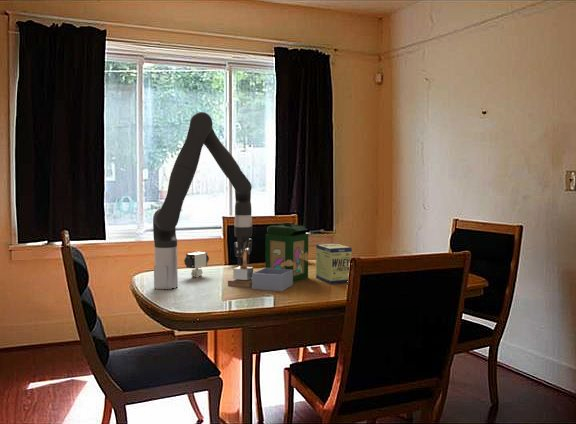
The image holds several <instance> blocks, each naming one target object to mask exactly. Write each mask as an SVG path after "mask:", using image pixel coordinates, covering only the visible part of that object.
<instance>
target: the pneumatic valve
mask: <svg viewBox="0 0 576 424" xmlns="http://www.w3.org/2000/svg"><path fill="white" fill-rule="evenodd" d="M209 259H210V256H209V255H208V252H206V251H198V250H195V252H191V253H186V254H185V258H184V262H183V263H184V265H185V266H186V268H187V269H191V273H190V274H191V275H190V276H191V277H192V276H195V277H194V278H196V277H197V278H200V277H199V276H202V277H203V269H202V268H204V267H208V263H209Z"/></svg>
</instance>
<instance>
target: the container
mask: <svg viewBox="0 0 576 424" xmlns="http://www.w3.org/2000/svg"><path fill="white" fill-rule="evenodd" d="M266 231H267V233H266V234H265V239H264V240H265V241H264V242H265V246H264V247H265V248H264V249H265V252H264V253H265V254H264V255H265V260H264V261H265V264H264V265H265V267H264V268H275V269H289V270H293V283H294V282H298V281H302V280H306V279H308V278H309V233H307V231H308V229H307V228H306V226H305V225H304V224H303V225H302V224H292V223H290V222H289V223H288V222H286V223H285V222H283V223H282V224H274V225H269V226H268V227H267V228H266Z"/></svg>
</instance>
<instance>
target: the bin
mask: <svg viewBox="0 0 576 424" xmlns="http://www.w3.org/2000/svg"><path fill="white" fill-rule="evenodd" d="M293 285H294V282H293V270H289V269H275V268H265V267H263V268H261V269H258V270H256V271H253V273H252V286H251V288H252V290H260V291H261V290H262V291H273V292H274V291H275V292H283V291H285V290H287V289H288V288H290V287H292V286H293Z"/></svg>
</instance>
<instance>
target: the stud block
mask: <svg viewBox="0 0 576 424" xmlns="http://www.w3.org/2000/svg"><path fill="white" fill-rule="evenodd" d="M227 286H232V287H241V288H242V287H243V288H244V287H245V288H250V287H251V288H252V278H251V279H249V280H239V279H233V278H231V279H228V280H227Z"/></svg>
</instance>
